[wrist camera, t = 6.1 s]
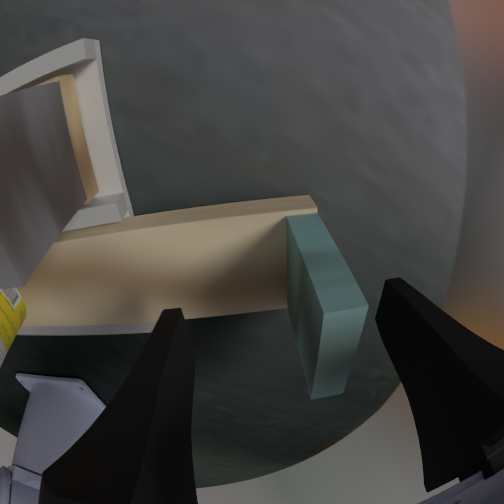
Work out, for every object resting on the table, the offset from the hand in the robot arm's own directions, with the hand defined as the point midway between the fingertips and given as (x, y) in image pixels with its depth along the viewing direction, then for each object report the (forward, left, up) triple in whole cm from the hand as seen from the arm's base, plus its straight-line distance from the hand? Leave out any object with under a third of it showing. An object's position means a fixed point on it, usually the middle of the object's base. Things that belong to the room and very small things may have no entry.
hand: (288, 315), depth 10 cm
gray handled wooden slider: (+6, +18, -4) cm, 19 cm away
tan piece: (0, +9, -4) cm, 10 cm away
